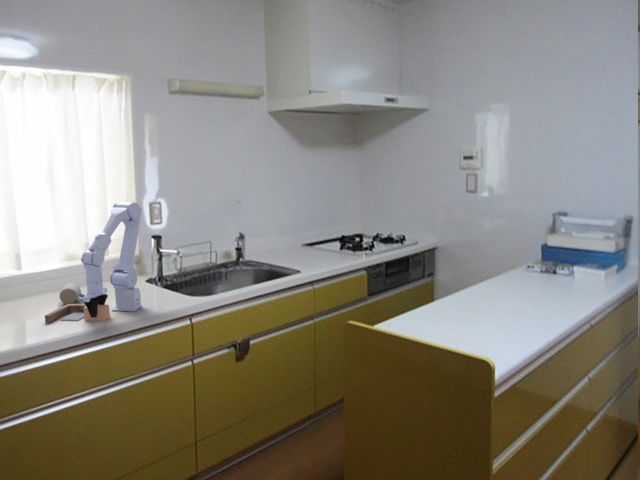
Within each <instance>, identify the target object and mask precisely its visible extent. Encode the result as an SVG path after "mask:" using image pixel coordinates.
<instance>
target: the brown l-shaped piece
mask: <svg viewBox="0 0 640 480" xmlns="http://www.w3.org/2000/svg"><path fill="white" fill-rule="evenodd" d="M84 307H86V305H85V304H84V303H71V304H65V305H63V306H61V307H59V308H57V309H55V310H53V311H51V312H49V313H47V314H45V315H44V321H45V324H51V323H53V322H56V321H57V320H60V319H62V318H64V317H66V316H68V315H69V314H72V313H73V312H84Z"/></svg>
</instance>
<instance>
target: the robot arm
mask: <svg viewBox="0 0 640 480" xmlns="http://www.w3.org/2000/svg"><path fill="white" fill-rule="evenodd" d="M141 215H142V207H140V205H139V203H137V202H134V201H133V202H127V201H126V202H123V201H116V202H115V203H114V204H113V205H112V207H111V209H110V216H109V218H108V220H107V222H106V224H105V227H103V228H104V229H103V230H102V232H101V233H98V234H97V235H95V237H94V240H93V241H92V243H91V245H90V246H89V248H88V250H85V251H84V252H83V253H82V255H81V258H80V261H81V263H82V264H83V268H84V270H85V281H86V293H85V294H84V295H85V296H84V297H83V298H82V299H83V302H82V304H85V305H86V307H87V309H88V311H89V314H90V316H91V317H97V307H98V305H106V302H107V298H108V297H109V295H108V294H107V292H108V290H107V287H104V285H103V272H102V264H103V263H104V262H105V256H106V252H107V250H108V248H109V246H111V245H110V244H111V243H112V239H111V237H112V235H113V234H114V232H115V231H116V230H117V228H118V227H119V226H120V224H121V223H123V225H124V227H125V228H124V233H123V237H122V239H123V240H122V242H121V243H122V244H121V248H120V255H119V260H118V263H117V264H116V265H115V266H113V269H112V272H111V274H110V276H109V282H110V285H112V286H113V289H114V294H115V295H114V297H115V307H114V308H113V309H111V310H112V311H113V312H116V311H117V312H135V311H136V310H138V309H140V308H141V307H143V305H142V301H141V300H142V299H141V298H142V297H141V296H142V295H141V290H140V288H138V287H135V286H136V285H137V282H138V275H137V274H138V273H137V272H138V270H137V269H136V268H135V266H134V265H133V264H134V260H135V253H136V248H137V243H138V237H139V231H140V227H141V221H140V220H141Z"/></svg>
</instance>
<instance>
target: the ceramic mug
mask: <svg viewBox="0 0 640 480" xmlns="http://www.w3.org/2000/svg"><path fill="white" fill-rule="evenodd" d="M81 292H82V290H81V288H80V286H79V285H78V284H76V283H74V282H69V283H66V284H64V286H63V287H61V290H60V292H59V299H60V301H61V302H62V303H63V304H65V305H66V304H75V303H76V301H77V302H80V303H83V297H84V296H85V295H86V294H84V293H81Z"/></svg>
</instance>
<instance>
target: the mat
mask: <svg viewBox="0 0 640 480" xmlns="http://www.w3.org/2000/svg"><path fill="white" fill-rule="evenodd" d="M82 319H84V312H73V313H69V314H67V315H65V316H63V317H61V318H60V321H63V322H64V321H65V322H67V321H68V322H79V321H81V320H82Z"/></svg>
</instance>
